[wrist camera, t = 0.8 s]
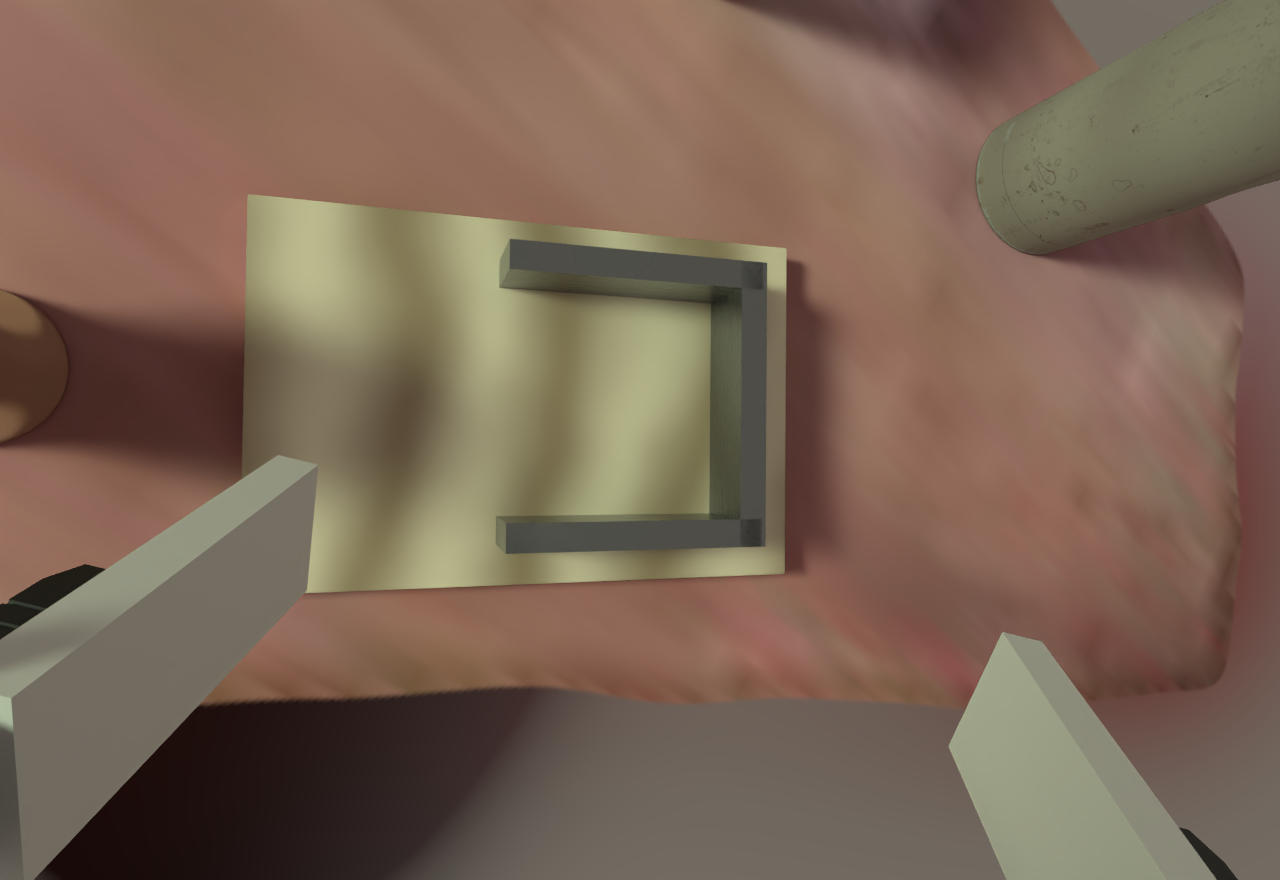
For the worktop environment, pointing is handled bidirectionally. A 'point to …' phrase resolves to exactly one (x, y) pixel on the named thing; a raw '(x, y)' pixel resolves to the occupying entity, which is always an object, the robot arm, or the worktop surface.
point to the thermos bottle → (1142, 134)
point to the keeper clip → (732, 394)
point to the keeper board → (483, 397)
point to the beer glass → (28, 366)
